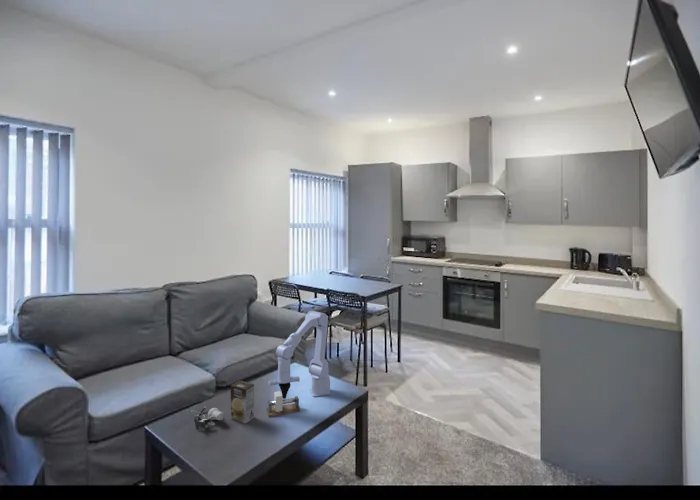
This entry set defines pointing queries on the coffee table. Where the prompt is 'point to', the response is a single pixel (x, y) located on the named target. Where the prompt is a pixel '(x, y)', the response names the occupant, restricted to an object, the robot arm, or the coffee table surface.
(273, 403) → the rod jig
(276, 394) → the white block on rod
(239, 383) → the coffee box
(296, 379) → the robot arm
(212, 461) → the coffee table surface
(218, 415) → the clip-on lamp
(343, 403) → the coffee table surface
